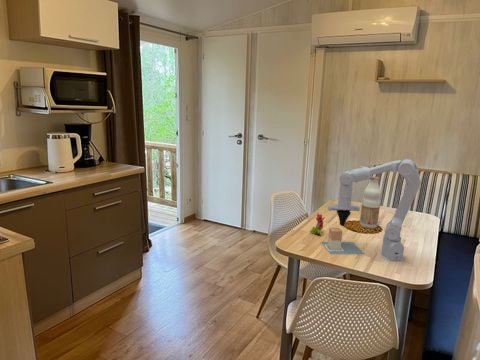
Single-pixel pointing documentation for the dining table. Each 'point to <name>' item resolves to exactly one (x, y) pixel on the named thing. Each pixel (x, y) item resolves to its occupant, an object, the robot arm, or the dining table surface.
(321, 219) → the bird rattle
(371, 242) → the dining table surface
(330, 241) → the base block
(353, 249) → the board
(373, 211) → the fruit juice
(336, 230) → the top block
